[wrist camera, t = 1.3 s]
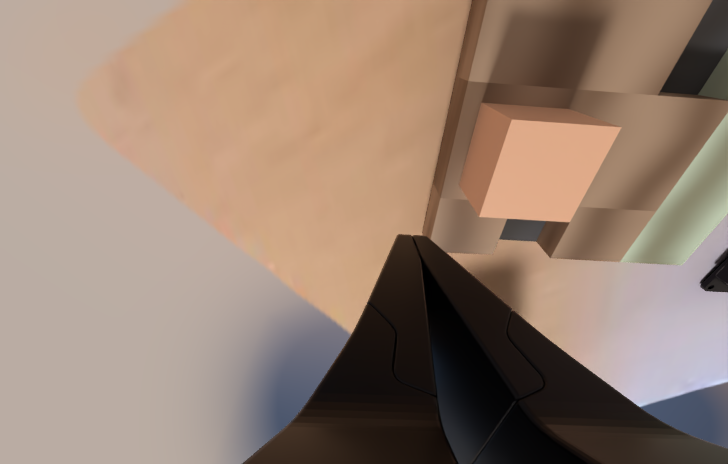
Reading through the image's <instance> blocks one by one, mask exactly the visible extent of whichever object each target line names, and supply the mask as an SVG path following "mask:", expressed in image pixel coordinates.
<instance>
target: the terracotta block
mask: <svg viewBox="0 0 728 464" xmlns="http://www.w3.org/2000/svg"><path fill="white" fill-rule="evenodd" d="M621 128H622V127H619V126H616V125H613V124H611V123H608V122H605V121H602V120H599V119H596V118H593V117H590V116H588V115H585V114H582V113H579V112H576V111H573V110H570V109H561V108H547V107H534V106H520V105H506V104H493V103H481V106H480V110H479V113H478V117H477V121H476V124H475V128H474V132H473V135H472V139H471V143H470V146H469V150H468V154H467V158H466V161H465V165H464V169H463V172H462V176H461V180H460V183H459V186H460V188H461V189H462V191H463V193H464V194H465V196H466V197H467V199H468V200H469V202H470V203H471V205H472V207H473V208H474V210H475V211H476V213H477V214H478V216H479V217H488V218H505V219H522V220H539V221H556V222H570V221H571V219H572V218H573V216H574V214H575V212H576V210H577V208H578V207H579V205H580V203H581V201H582V199H583V197H584V196H585V194H586V192H587V190H588V188H589V186H590V185H591V183H592V181H593V179H594V177H595V175H596V174H597V172H598V170H599V168H600V166H601V164H602V163H603V161H604V159H605V157H606V155H607V153H608V152H609V150H610V148H611V146H612V144H613V142H614V141H615V139H616V137H617V135H618V133H619V131H620V130H621Z"/></svg>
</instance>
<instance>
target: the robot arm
mask: <svg viewBox="0 0 728 464" xmlns="http://www.w3.org/2000/svg"><path fill="white" fill-rule="evenodd" d="M700 287H701V288H702V289H704V290H705V291H713V292H728V258H727V259H726V260H725V261H724V262H723V263H722V264H721V265H720V266H719V267H718V268H717V269H716V270H715V271H714V272H713V273H712V274H711V275H710V276H709V277H708V278H707V279H706V280H705V281H704V282H703V283H702V284H701V286H700ZM511 311H512V309H511V308H510V307H509V306H508V305H507V304H505V303H504V302H503V301H502V300H501V299H500V298H498V297H497V296H496V295H495V294H494V293H493V292H491V291H490V290H489V289H488V288H487V287H486V286H484V285H483V284H482V283H481V282H480V281H479V280H477V279H476V278H475V277H474V276H473V275H472V274H470V273H469V272H468V271H467V270H466V269H465V268H463V267H462V266H461V265H460V264H459V263H458V262H456V261H455V260H454V259H453V258H452V257H451V256H449V255H448V254H447V253H446V252H445V251H444V250H442V249H441V248H440V247H439V246H438V245H437V244H435V243H434V242H433V241H432V240H431V239H429V238H428V237H427V236H420V235H414V236H411V235H402V234H399V235H397V237H396V239H395V242H394V244H393V246H392V248H391V251H390V253H389V255H388V257H387V260H386V262H385V264H384V266H383V269H382V271H381V273H380V275H379V278H378V280H377V282H376V284H375V287H374V289H373V291H372V293H371V296H370V298H369V300H368V302H367V305H366V306H365V309H364V311H363V313H362V315H361V317H360V319H359V321H358V323H357V325H356V327H355V329H354V331H353V333H352V334H351V336H350V338H349V339H348V341H347V343H346V344H345V346H344V348H343V349H342V351H341V352H340V354H339V355H338V357H337V358H336V360H335V361H334V363H333V364H332V366H331V367H330V369H329V370H328V372H327V373H326V375H325V376H324V378H323V379H322V381H321V382H320V384H319V385H318V387H317V388H316V390H315V391H314V393H313V394H312V396H311V397H310V399H309V400H308V402H307V403H306V404H305V405H304V407H303V408H302V409H301V411H300V412H299V413H298V415H296V417H295V418H294V419H293V420H292V421H291V422H290V423H289V424H288V425H287V426H286V427H285V428H284V429H282V430H281V431H280V432H279V433H278V434H277V435H275V436H274V437H273V438H272V439H271V440H270V441H268V442H267V443H266V444H265V445H264V446H262V447H261V448H260V449H259V450H258V451H257V452H255V453H254V454H253V455H252V456H251V457H250V458H248V459H247V460H246V461H245V462H244V463H243V464H728V449H727V448H724V447H722V446H719V445H716V444H713V443H710V442H707V441H704V440H702V439H699V438H696V437H694V436H691V435H689V434H687V433H684V432H682V431H680V430H677V429H675V428H674V427H672V426H669V425H668V424H666V423H664V422H662V421H660V420H659V419H657V418H655V417H654V416H652V415H650V414H649V413H647V412H646V411H644V410H643V409H641V408H640V407H639V406H637V405H636V404H634V403H633V402H632V401H630V400H629V399H628V398H626V397H625V396H624V395H622V394H621V393H619V392H618V391H617V390H615V389H614V388H613V387H611V386H610V385H609V384H607V383H606V382H605V381H603V380H602V379H601V378H599V377H598V376H597V375H595V374H594V373H592V372H591V371H590V370H588V369H587V368H586V367H584V366H583V365H582V364H580V363H579V362H578V361H576V360H575V359H574V358H572V357H571V356H570V355H568V354H567V353H566V352H564V351H563V350H562V349H560V348H559V347H558V346H557V345H555V344H554V343H553V342H551V341H550V340H549V339H547V338H546V337H545V336H544V335H542V334H541V333H540V332H539V331H538V330H536V329H535V328H534V327H533V326H532V325H530V324H529V323H528V322H527V321H525V320H524V319H523V318H522V317H521V316H520V315H518V314H517V313H516V312H515V311H512V312H511Z"/></svg>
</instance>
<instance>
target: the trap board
mask: <svg viewBox="0 0 728 464" xmlns="http://www.w3.org/2000/svg"><path fill="white" fill-rule="evenodd" d="M481 103H493V104H506V105H520V106H534V107H547V108H561V109H570V110H573V111H576V112H579V113H582V114H585V115H588V116H590V117H593V118H596V119H599V120H602V121H605V122H608V123H611V124H613V125H616V126H619V127H622V128H621V130H620V131H619V133H618V135H617V137H616V139H615V141H614V142H613V144H612V146H611V148H610V150H609V152H608V153H607V155H606V157H605V159H604V161H603V163H602V164H601V166H600V168H599V170H598V172H597V174H596V175H595V177H594V179H593V181H592V183H591V185H590V186H589V188H588V190H587V192H586V194H585V196H584V197H583V199H582V201H581V203H580V205H579V207H578V208H577V210H576V212H575V214H574V216H573V218H572V219H571V221H570V222H556V221H539V220H522V219H505V218H488V217H479V216H478V214H477V213H476V211H475V210H474V208H473V207H472V205H471V203H470V202H469V200H468V199H467V197H466V196H465V194H464V193H463V191H462V189H461V188H460V186H459V183H460V180H461V176H462V172H463V169H464V165H465V161H466V158H467V154H468V150H469V146H470V143H471V139H472V135H473V132H474V128H475V124H476V121H477V117H478V113H479V110H480V106H481ZM727 214H728V0H472V5H471V10H470V14H469V19H468V24H467V28H466V33H465V37H464V42H463V47H462V51H461V56H460V61H459V65H458V70H457V75H456V79H455V84H454V88H453V93H452V98H451V102H450V107H449V112H448V116H447V121H446V126H445V130H444V135H443V139H442V144H441V149H440V153H439V158H438V163H437V167H436V172H435V177H434V181H433V186H432V190H431V195H430V200H429V204H428V209H427V214H426V218H425V223H424V228H423V232H422V233H423V236H427V237H428V238H429V239H431V240H432V241H433V242H434V243H435V244H437V245H438V246H439V247H440V248H441V249H442V250H444V251H445V252H447V253H466V254H484V255H493V253H494V251H495V248H496V246H497V243H498V241H499V239H503V240H521V241H536V242H537V243H538V244H539V245H540V246H541V248H542V249H543V250H544V251H545V252H546V254H547V255H548V256H549V257H550V258H557V259H575V260H594V261H612V262H630V263H648V264H667V265H683V263H684V262H685V261H686V260H687V259H688V258H689V257H690V255H691V254H692V253H693V252H694V251H695V250H696V249H697V248H698V246H699V245H700V244H701V243H702V242H703V241H704V240H705V239H706V237H707V236H708V235H709V234H710V233H711V232H712V231H713V230H714V228H715V227H716V226H717V225H718V224H719V223H720V222H721V220H722V219H723V218H724V217H725V216H726V215H727Z"/></svg>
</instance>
